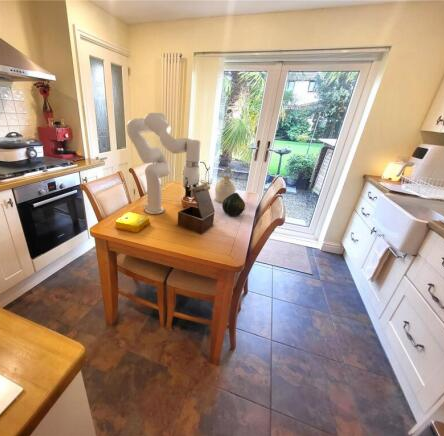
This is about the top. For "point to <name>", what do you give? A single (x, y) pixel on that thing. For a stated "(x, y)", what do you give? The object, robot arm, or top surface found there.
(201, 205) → the lid
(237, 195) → the squash
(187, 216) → the chest
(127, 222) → the element tile
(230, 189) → the cream vase
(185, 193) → the block
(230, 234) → the top surface
